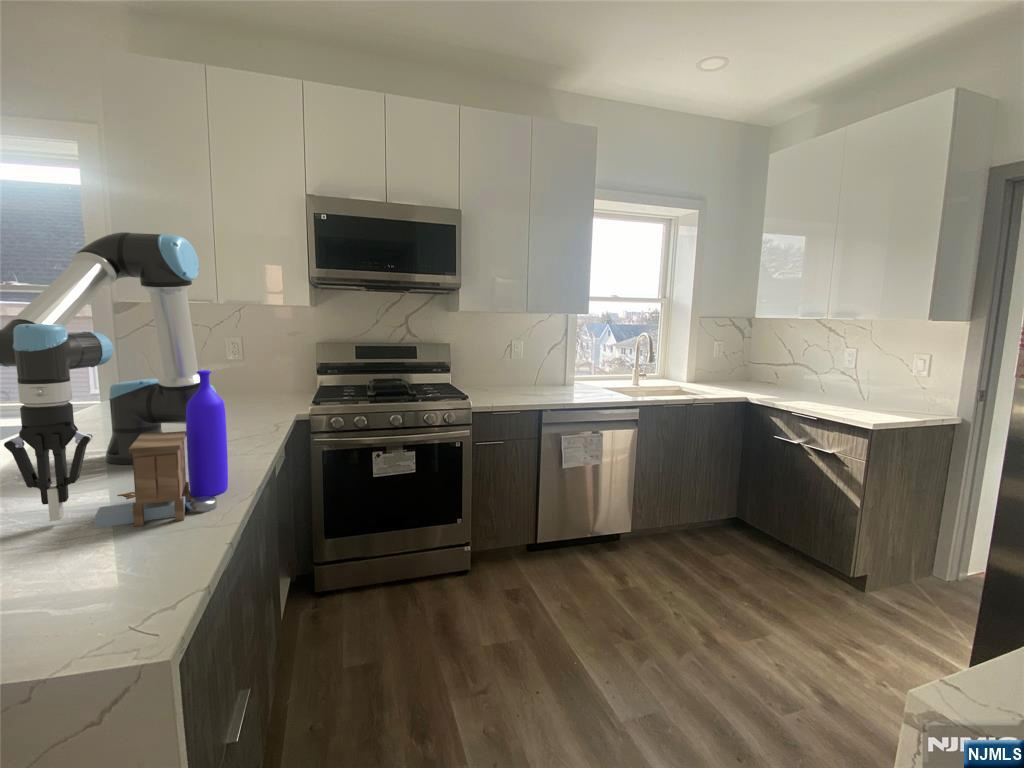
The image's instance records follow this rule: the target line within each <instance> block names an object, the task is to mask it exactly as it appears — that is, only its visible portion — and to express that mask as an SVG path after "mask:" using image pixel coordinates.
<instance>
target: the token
mask: <svg viewBox="0 0 1024 768" xmlns="http://www.w3.org/2000/svg"><path fill="white" fill-rule="evenodd" d="M217 500H218V499H217V497H215V496H202V497H193V498H189V500H188V501H186V502H185V513H187V514H191V513H193V514H192V515H194V514H195V515H196V513H197V514H203V513H208V512H211V510H212V511H214V510H215V509H217V507H218V501H217Z"/></svg>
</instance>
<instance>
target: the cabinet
mask: <svg viewBox="0 0 1024 768" xmlns="http://www.w3.org/2000/svg"><path fill="white" fill-rule="evenodd" d="M186 439H187V435H186V430H183V431H182V430H181V431H167V432H163V433H148V434H140V436H139V437H138V438H137V439H136V440H135V442H134V443H133V444H132V445H131V446H130V448H129V454H132V453H133V464H132V467H133V480H134V482H133V483H134V485H133V486H134V492H135V494H134V495H135V497H134V499H135V502H133V503H134V504H133V517H134V523H133V527H134V528H135V527H143V526H144V524H145V521H144V507H143V504H152V503H160V502H169V501H174V506H175V517H174V520H175V522H180V521H184V520H185V518H186V517H185V515H184V498H181V497H184V496H185V502H186V501H188V500H190V486H189V481H187V475H186V455H185V440H186Z"/></svg>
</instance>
